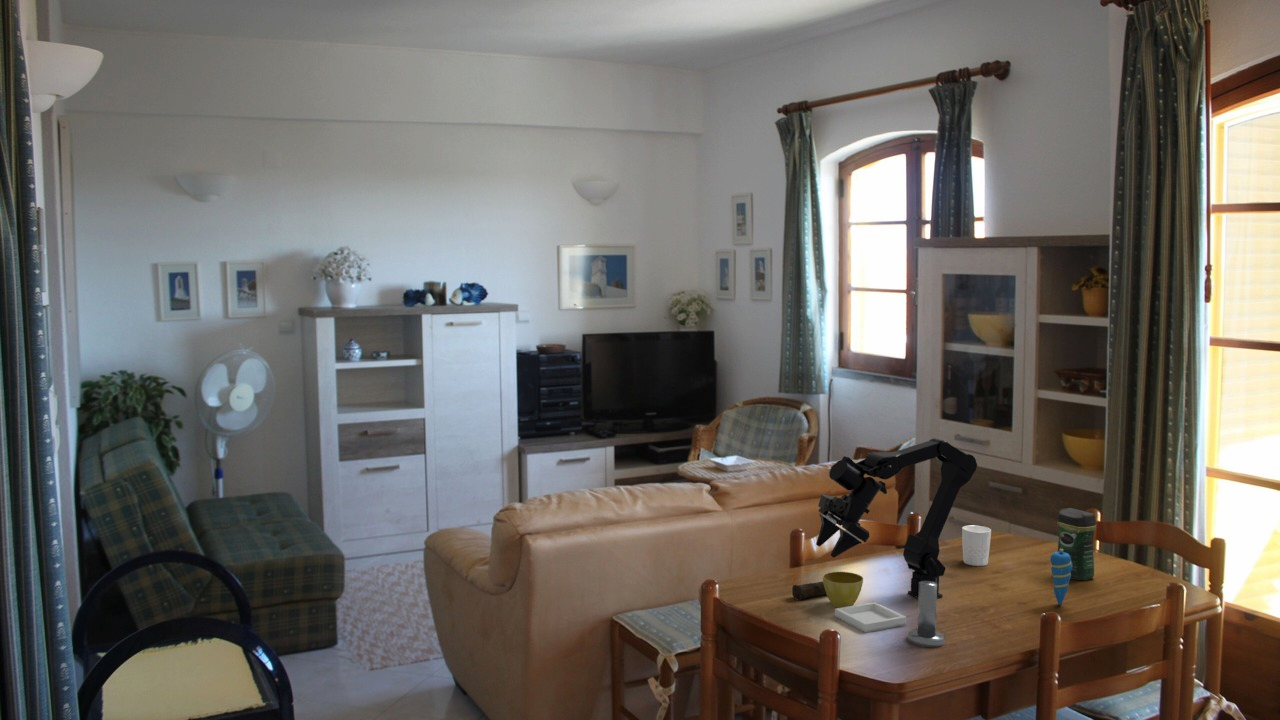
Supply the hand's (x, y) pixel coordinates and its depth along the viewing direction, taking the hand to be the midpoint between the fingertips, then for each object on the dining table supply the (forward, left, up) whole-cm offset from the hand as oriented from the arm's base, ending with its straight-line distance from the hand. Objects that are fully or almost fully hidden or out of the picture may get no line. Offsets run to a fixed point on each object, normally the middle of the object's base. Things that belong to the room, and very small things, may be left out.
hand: (824, 550), depth 258 cm
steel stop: (-8, +29, -14) cm, 33 cm away
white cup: (-62, -14, -15) cm, 65 cm away
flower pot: (-5, 0, -15) cm, 16 cm away
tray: (-4, +13, -14) cm, 20 cm away
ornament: (-55, +23, -15) cm, 62 cm away
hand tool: (-6, -9, -15) cm, 18 cm away
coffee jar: (-78, +8, -15) cm, 80 cm away
